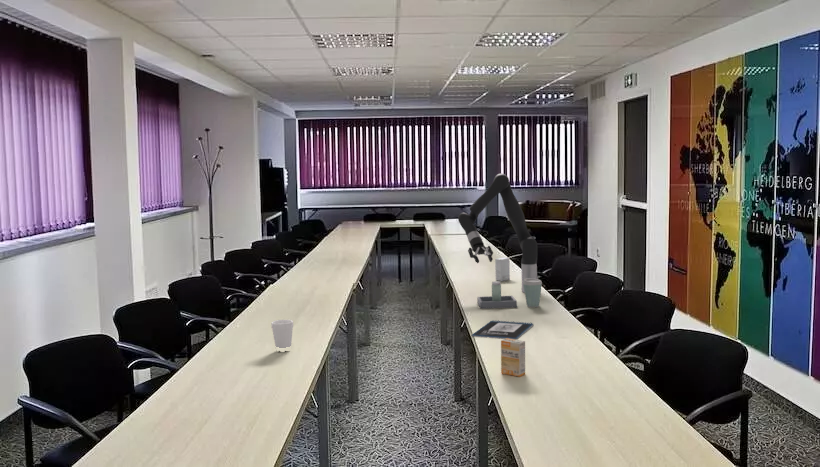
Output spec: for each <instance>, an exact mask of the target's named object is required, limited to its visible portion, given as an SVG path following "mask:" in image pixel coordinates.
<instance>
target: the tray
mask: <svg viewBox="0 0 820 467" xmlns="http://www.w3.org/2000/svg"><path fill="white" fill-rule="evenodd" d="M476 298H477V300H476V301H477V304H478V306H479V308H480V310H481V309H502V308H503V309H504V308H505V309H506V308H507V309H509V308H518V302H517V300H516V299H515V298H516V297H515V296H513V295H501V301H492V295H491V296H487V295H486V296H477V297H476Z"/></svg>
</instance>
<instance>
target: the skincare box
mask: <svg viewBox="0 0 820 467" xmlns="http://www.w3.org/2000/svg"><path fill="white" fill-rule="evenodd" d="M494 260H495V261H494V262H495V268H494V269H495V281H500V282H504V281H508V280H510V279H511V278H510V277H511V275H510V258H509V257H505V256H503V257H499V258H494Z"/></svg>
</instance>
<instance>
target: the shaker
mask: <svg viewBox="0 0 820 467" xmlns="http://www.w3.org/2000/svg"><path fill="white" fill-rule="evenodd" d="M501 283H502V281H498V280H495V281H492V282H491V296H492V301H501V296H502V284H501Z"/></svg>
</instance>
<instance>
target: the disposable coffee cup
mask: <svg viewBox="0 0 820 467" xmlns="http://www.w3.org/2000/svg"><path fill="white" fill-rule="evenodd" d="M523 285H524V291H525V292H524V296H525V297H524V298H525V301H526V306H527V307H528V308H538V307H539V306H540V302H541V301H540V300H541V293H542V285H543V282H542V280H541V279H539V278H538V279H532V278H526V279H524V281H523Z"/></svg>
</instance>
